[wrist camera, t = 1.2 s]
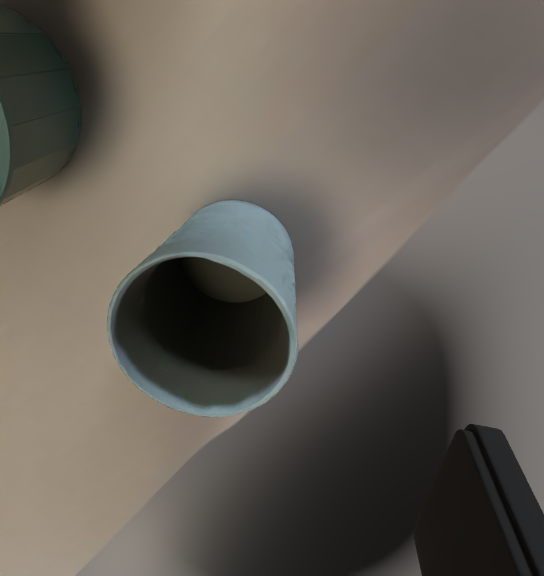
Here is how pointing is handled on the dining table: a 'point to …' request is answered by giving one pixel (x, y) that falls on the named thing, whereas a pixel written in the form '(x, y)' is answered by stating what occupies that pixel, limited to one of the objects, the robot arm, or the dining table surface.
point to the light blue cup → (210, 313)
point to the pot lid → (6, 148)
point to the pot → (36, 102)
